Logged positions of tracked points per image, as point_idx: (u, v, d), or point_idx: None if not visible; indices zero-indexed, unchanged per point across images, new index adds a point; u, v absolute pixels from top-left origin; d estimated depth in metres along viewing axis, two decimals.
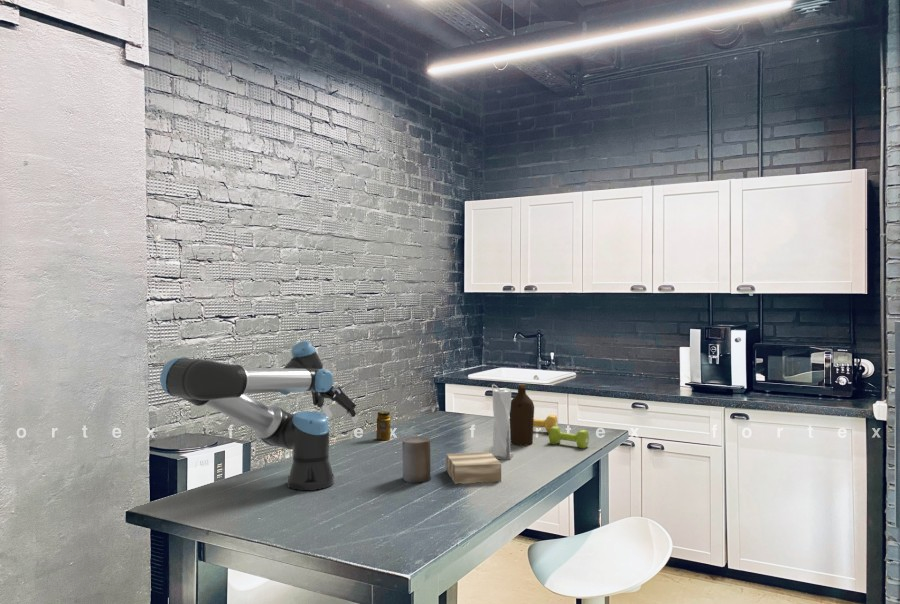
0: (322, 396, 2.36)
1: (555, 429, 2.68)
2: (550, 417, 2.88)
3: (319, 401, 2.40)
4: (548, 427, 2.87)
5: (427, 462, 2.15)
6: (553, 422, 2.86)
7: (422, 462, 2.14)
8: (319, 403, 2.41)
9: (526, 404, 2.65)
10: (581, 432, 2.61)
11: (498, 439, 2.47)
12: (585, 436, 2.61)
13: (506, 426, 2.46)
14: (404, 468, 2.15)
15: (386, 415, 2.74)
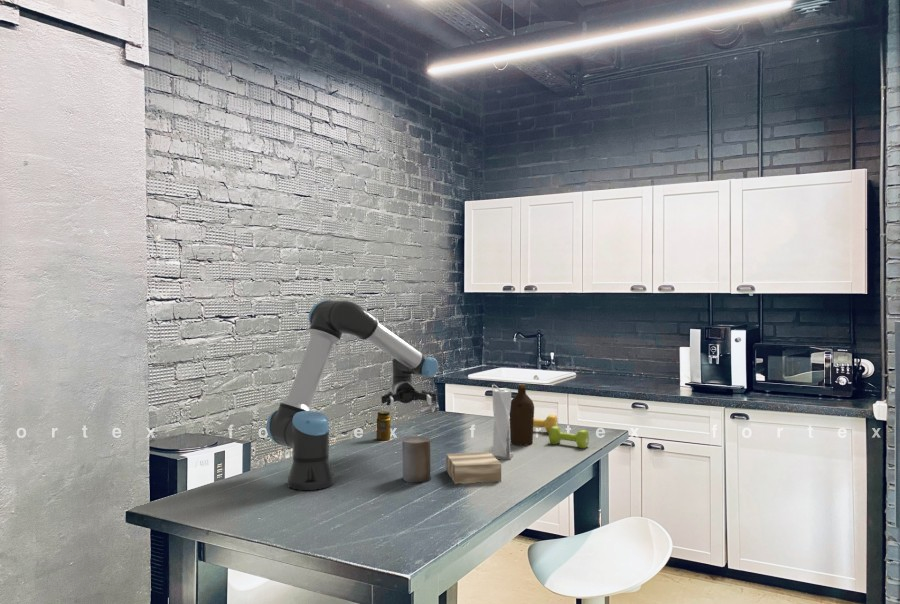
0: (402, 392, 2.39)
1: (555, 429, 2.68)
2: (550, 417, 2.88)
3: (393, 394, 2.36)
4: (548, 427, 2.87)
5: (427, 462, 2.15)
6: (553, 422, 2.86)
7: (422, 462, 2.14)
8: (391, 395, 2.34)
9: (526, 404, 2.65)
10: (581, 432, 2.61)
11: (498, 439, 2.47)
12: (585, 436, 2.61)
13: (506, 426, 2.46)
14: (404, 468, 2.15)
15: (386, 415, 2.74)
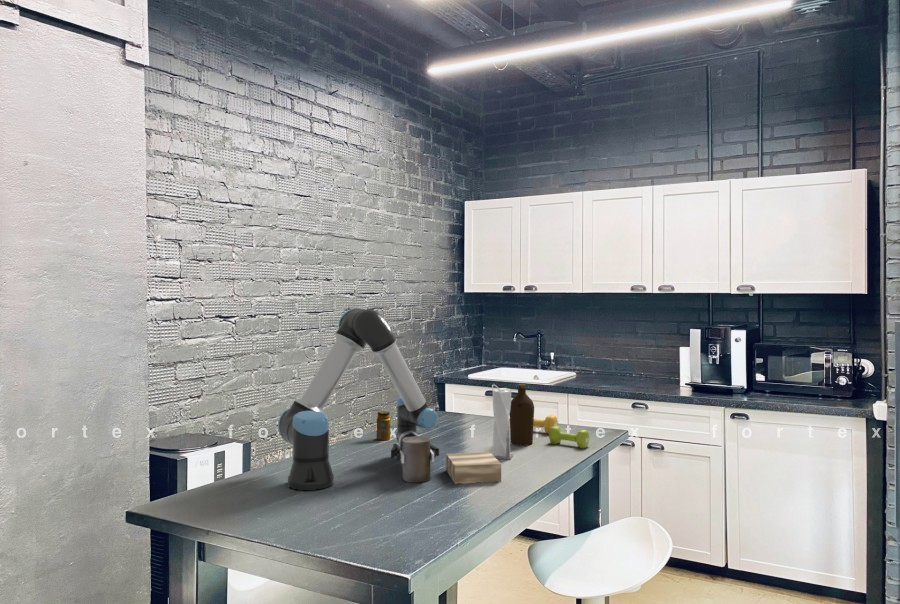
0: None
1: (555, 429, 2.68)
2: (548, 417, 2.87)
3: (401, 448, 2.23)
4: (546, 427, 2.86)
5: (427, 462, 2.15)
6: (551, 422, 2.85)
7: (421, 462, 2.14)
8: (400, 449, 2.21)
9: (526, 404, 2.65)
10: (581, 432, 2.61)
11: (498, 439, 2.47)
12: (585, 436, 2.61)
13: (506, 426, 2.46)
14: (404, 468, 2.15)
15: (386, 415, 2.73)
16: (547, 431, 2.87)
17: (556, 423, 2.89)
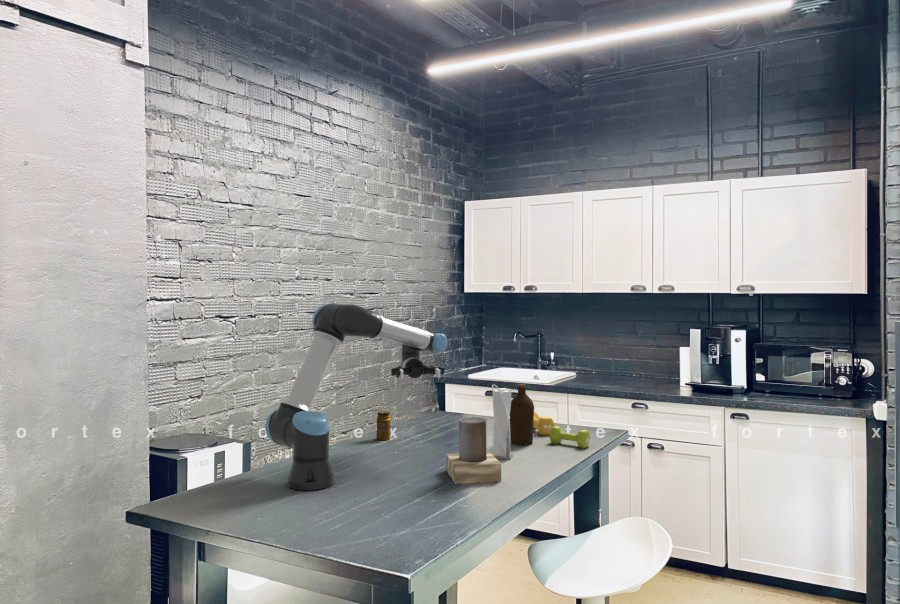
0: (411, 366, 2.45)
1: (556, 429, 2.68)
2: (540, 418, 2.86)
3: (402, 368, 2.41)
4: (536, 427, 2.86)
5: (484, 442, 2.19)
6: (540, 423, 2.84)
7: (479, 442, 2.17)
8: (401, 368, 2.40)
9: (526, 404, 2.65)
10: (582, 432, 2.62)
11: (498, 439, 2.47)
12: (585, 436, 2.61)
13: (506, 426, 2.46)
14: (461, 448, 2.19)
15: (386, 415, 2.74)
16: (538, 431, 2.86)
17: (549, 425, 2.85)
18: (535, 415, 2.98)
